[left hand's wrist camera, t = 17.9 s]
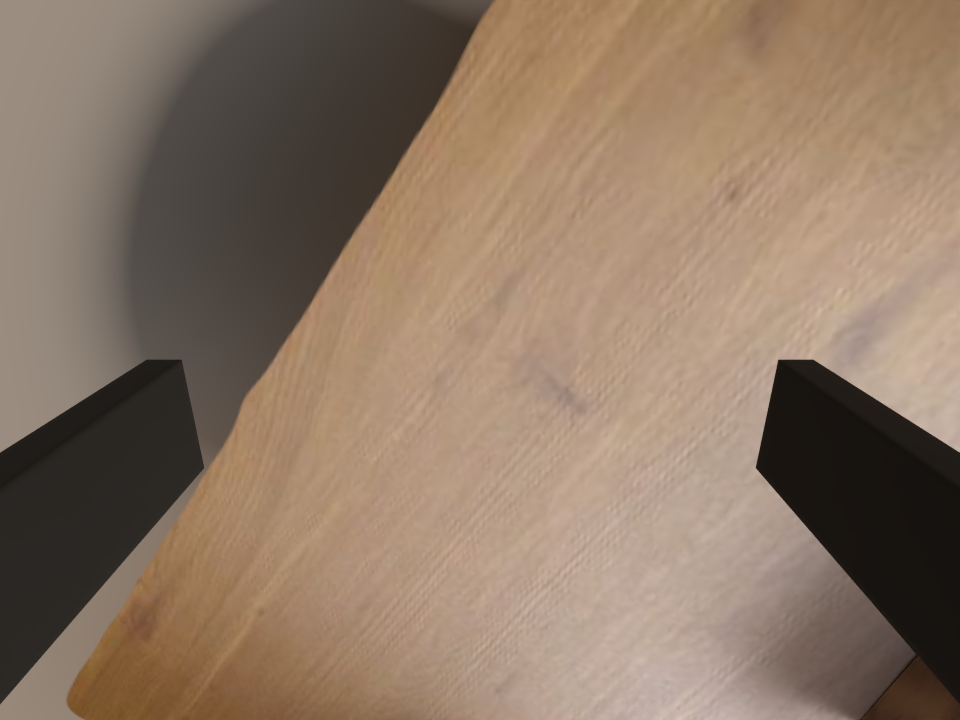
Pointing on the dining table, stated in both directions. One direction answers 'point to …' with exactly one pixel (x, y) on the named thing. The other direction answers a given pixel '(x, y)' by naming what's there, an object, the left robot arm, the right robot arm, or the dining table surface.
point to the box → (915, 698)
